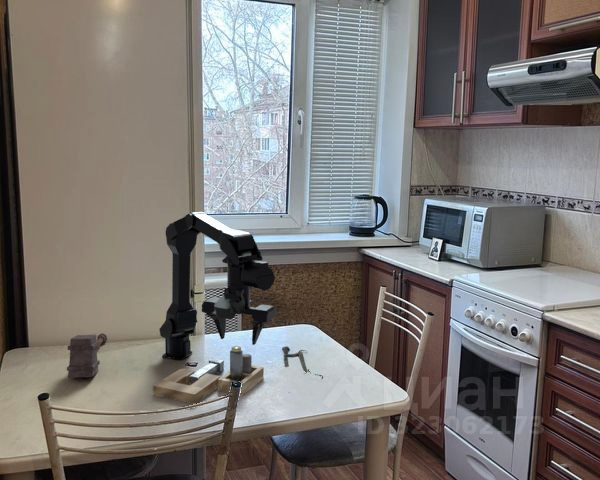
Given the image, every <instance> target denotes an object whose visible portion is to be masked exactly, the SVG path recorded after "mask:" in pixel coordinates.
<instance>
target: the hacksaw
mask: <svg viewBox="0 0 600 480" xmlns="http://www.w3.org/2000/svg"><path fill="white" fill-rule="evenodd" d="M281 349H282V351H283V352H282V353H283V364H284V368H289V367H290V364H289V358H290V357H298V359H299V361H300V364H301V367H302V370H303V371H305V372H306V373H307V372H308V373H309V372H310V373H311V370H310V369H308V368H307V366H306V361H305V358H304V353H303V352H305V353H308V351H307V350H305V349H300V350H298V352H296V353H289V351H290V350H291V349H290V347H288V346H283V347H282V348H281ZM288 357H289V358H288ZM309 370H310V371H309ZM305 372H304V373H305ZM306 373H305V374H306ZM314 374H315V373H314ZM318 375H319V377H321V376H322V377H321V380H323V379H324V376H323V375H321V374H318ZM314 376H317V374H315V375H314Z"/></svg>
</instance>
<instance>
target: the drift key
mask: <svg viewBox="0 0 600 480" xmlns="http://www.w3.org/2000/svg"><path fill="white" fill-rule="evenodd" d="M224 368H225V360H224V359H218V358H211V359H209V360H208V364H206V365H205V366H203V367H201V368H200V369H198V370H196V371H195V373H194V374H192V375H191V376H190V384H189V385H192V384H193V383H195V382H196V381H198V379H199V378H200V377H202V376H203V375H205V374H206V373H207V374H212V375H216V374H219V373H222V372H224V370H225V369H224Z"/></svg>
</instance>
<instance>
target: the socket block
mask: <svg viewBox="0 0 600 480" xmlns="http://www.w3.org/2000/svg"><path fill="white" fill-rule="evenodd" d="M195 372H196V371H195V370H191V369H185V368H180V369H179V368H178V370H176V371H175V372H173V373H171V374H170V375H168V376H166V377H165V378H163V379H161V380H160V381H158V382H157V383H155V384H153V387H152V388H153V389H152V390H153V396H157V397H160V398H161V397H162V398H166V399H169V400H173V401H174V400H175V401H179V402H184V403H189V404H192V403H196V404H197V403H199V402H200V401H202V400H203V399H204V398H205V397H207V396H208V395H209V394H211V393H212V392H213V391H215V390H217V389H218V379H219V378H220V377H221V376H220V375H216V374H215V375H212V374H207V373H206V374H205V375H203V376H202V377H200V378H199V379H198V381H196V382H195V383H193V384H192V385H190V376H191V375H192V374H194V373H195Z"/></svg>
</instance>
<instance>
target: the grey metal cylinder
mask: <svg viewBox="0 0 600 480" xmlns="http://www.w3.org/2000/svg"><path fill="white" fill-rule="evenodd" d="M243 354H244V351H243V350H242V347H241V346H239V345H235V346H232V347H231V349H230V351H229V371H230V380H235V381H240V382H241V381H242V380H243Z"/></svg>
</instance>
